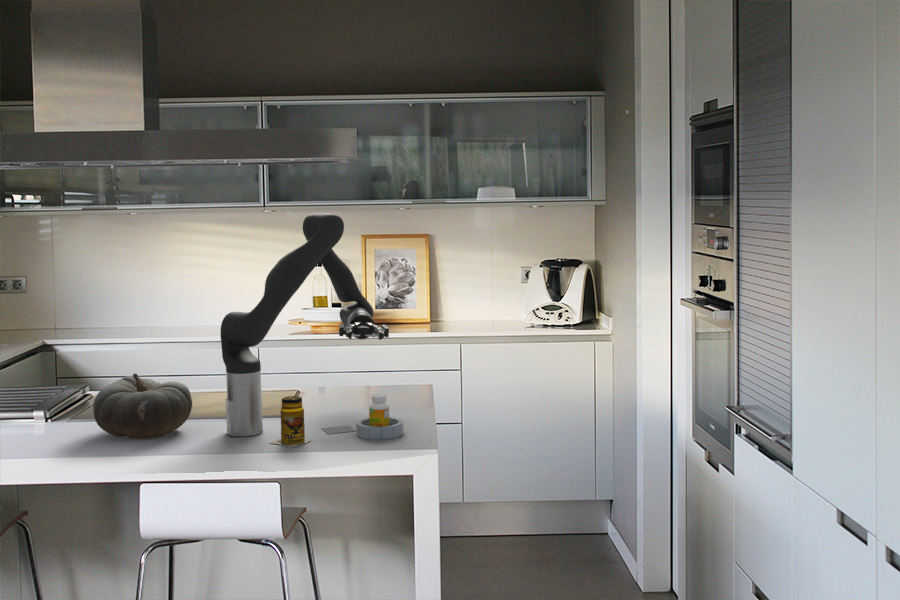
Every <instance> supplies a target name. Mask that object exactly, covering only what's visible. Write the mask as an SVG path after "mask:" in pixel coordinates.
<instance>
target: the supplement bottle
mask: <svg viewBox="0 0 900 600" xmlns="http://www.w3.org/2000/svg"><path fill="white" fill-rule="evenodd" d="M368 410H369V411H368V415H369V416H368V418H369V422H370V426H371V427H383V426H389V417H390V405H389V403H388V402H387V395H386V393H385V394H384V393H376V394H372V395H371V403H370V404H369V406H368Z"/></svg>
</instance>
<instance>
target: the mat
mask: <svg viewBox="0 0 900 600" xmlns="http://www.w3.org/2000/svg"><path fill="white" fill-rule="evenodd" d="M320 429H321V430H322V431H323V432H324V433H325V434H327V435H335V434H345V433H346V434H347V433H351V432H352V433H353V432H354V433H355V432H356V428H353V427H352V426H350V425H337V426H331V427H330V426H329V427H322V428H320Z"/></svg>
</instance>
